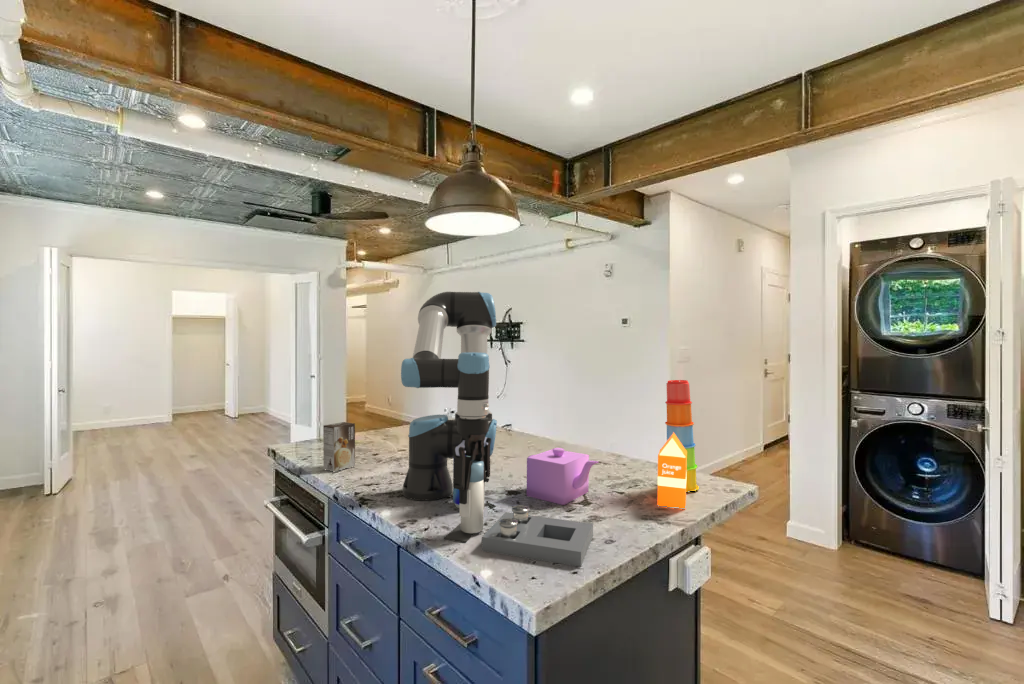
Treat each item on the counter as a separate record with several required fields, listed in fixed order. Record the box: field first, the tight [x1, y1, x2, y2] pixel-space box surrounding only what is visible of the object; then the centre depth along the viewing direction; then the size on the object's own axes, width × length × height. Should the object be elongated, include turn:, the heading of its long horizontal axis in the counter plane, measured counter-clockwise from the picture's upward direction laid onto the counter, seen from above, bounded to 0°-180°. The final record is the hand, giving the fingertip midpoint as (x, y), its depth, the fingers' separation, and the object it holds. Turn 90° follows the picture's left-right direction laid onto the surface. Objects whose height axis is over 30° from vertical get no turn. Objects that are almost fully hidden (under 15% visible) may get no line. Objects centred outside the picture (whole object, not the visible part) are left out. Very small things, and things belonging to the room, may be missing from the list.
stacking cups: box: [664, 379, 700, 493], centre depth 151 cm, size 10×10×35 cm
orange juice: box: [656, 432, 687, 509], centre depth 137 cm, size 8×9×20 cm
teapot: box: [526, 447, 600, 506], centre depth 144 cm, size 15×25×14 cm, turn 53°
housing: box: [481, 511, 594, 568], centre depth 108 cm, size 22×16×4 cm
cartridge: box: [460, 460, 484, 534], centre depth 114 cm, size 5×5×16 cm
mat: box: [443, 522, 476, 544], centre depth 114 cm, size 10×10×1 cm
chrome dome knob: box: [499, 518, 518, 539], centre depth 106 cm, size 4×4×4 cm
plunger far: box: [511, 504, 530, 524], centre depth 114 cm, size 4×4×4 cm
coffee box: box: [322, 421, 356, 472], centre depth 170 cm, size 9×6×16 cm
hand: (472, 512), depth 114 cm, fingers closed on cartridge, 5 cm apart
